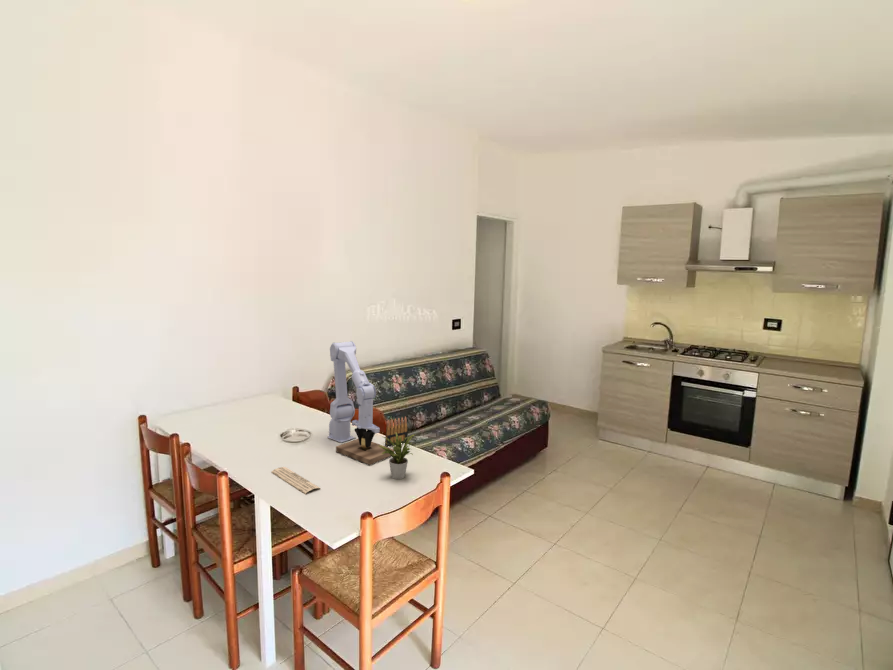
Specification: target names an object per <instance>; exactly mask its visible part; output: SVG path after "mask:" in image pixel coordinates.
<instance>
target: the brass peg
mask: <svg viewBox="0 0 893 670" xmlns="http://www.w3.org/2000/svg"><path fill="white" fill-rule="evenodd" d="M361 450H364V451H366V450H368V447H366V445H365V436H363V437H361Z"/></svg>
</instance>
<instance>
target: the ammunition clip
mask: <svg viewBox="0 0 893 670" xmlns="http://www.w3.org/2000/svg"><path fill="white" fill-rule="evenodd" d="M407 422H408V421H407V416H404V418H403V416H401V419H400V417H398V418H394V420H393V418H391V419H390V420H389V419H387V421H386V430H385V436H384V437H385V438H384V446H385V447H388V446H389V447H392V446H393V445H391V444H392V443H390V442H389V440H388V439H390V440H391V441H392V442H393V443H394V445H396V444H395V442H396V433H397V434H398V440H399V438H400V436H401V438H402V443H403V441H404V439H405V438H406V437H408V438H409V435H408V434H409V433H408V432H409V431H408V423H407ZM386 438H388V439H386ZM408 438H406V439H405V441H404V443H403V444H405V442H406V440H407V439H408ZM385 439H386V440H385ZM393 439H394V440H395V442H394V440H393ZM385 442H386V443H385ZM387 443H388V444H387ZM389 447H388V448H389ZM393 447H394V446H393Z"/></svg>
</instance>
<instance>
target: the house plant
mask: <svg viewBox="0 0 893 670" xmlns="http://www.w3.org/2000/svg"><path fill="white" fill-rule="evenodd" d="M415 435H416V434H412V435H410V436H408V437H406V438H408V439H407V440H406V442H405V443H404V441H405V439H406V438H405V439H404V441H403V443H402V438H401V436H400V438H399V440H398V434H397V433H396V442H395V440H394V439H393V440H394V442H395V444H396V445H394V443H393V442H392V441H391V440H390V439H388V438H386V439H388V440H389V442H390V443H392V444H391V445H393V446H391V448H392V449H393V450H394V452H393V451H392V450H390V449H388V448H389V447H388V448H386V446H385V447H383V446H384V445H383V446H379V447H381V448H383V449H384V450H385V451H384V452H383V453H382V454H385V453H389V454H390V455H391V457H390V459H389V460H388V463H389V468H390V470H389V471H390V477H391V478H392V479H394V480H401V479H404V478H405V476H406V473H407V469H408V463H409V460H408V459H407V458H406V456H407V455H412V456H414V453H412V452H411V448H409V446H410V445H411V444H412V443H413V442H414V439H413V437H414V436H415ZM382 438H384V444H385V443H386V442H385V440H386V439H385V436H382ZM412 439H413V440H412ZM411 440H412V442H410V441H411ZM401 443H402V444H401ZM387 444H388V443H387ZM408 444H409V445H408ZM410 452H411V453H410Z"/></svg>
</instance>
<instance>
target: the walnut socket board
mask: <svg viewBox="0 0 893 670" xmlns="http://www.w3.org/2000/svg"><path fill="white" fill-rule="evenodd" d="M379 446H383V447H386V446H385V445H382V444H379V443H377V442H374V441H372V442H371V446H370V447H368V450H366V451H364V450H361V445H360V443H359V439H358V438H355V439H352V440H349V441H348V442H347V441H346V442H343V443H342V444H339V445H336V446H335V453H337V454H340V455H342V456H345V457H347V458H350V459H352V460H354V461H356V462H360V463H362V464H364V465H367V466H372V465H375V464H378V463H379V462H382V461H384V460H387V459H389V458H392V456H391V455H390V454H389V453H385V454H382V453H383V452H384V451H385V450H384V449H383V448H381V447H379ZM386 448H388V449H390V450H392V451H393V452H394V450H393V448H392V447H391V448H390V447H386ZM394 453H395V452H394Z"/></svg>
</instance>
